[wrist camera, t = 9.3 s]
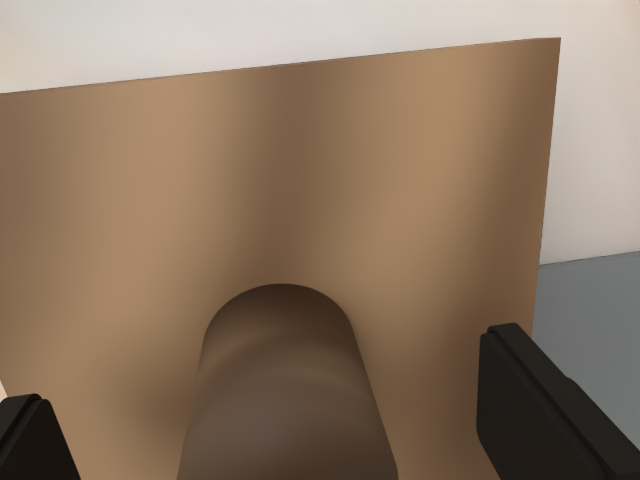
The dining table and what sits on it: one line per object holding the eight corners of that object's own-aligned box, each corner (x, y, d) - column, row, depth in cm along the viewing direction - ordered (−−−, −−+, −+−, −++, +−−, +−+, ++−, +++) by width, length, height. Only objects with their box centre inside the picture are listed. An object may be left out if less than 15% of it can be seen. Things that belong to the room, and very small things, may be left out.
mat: (853, 221, 21) (864, 224, 20) (765, 460, 26) (772, 466, 26) (449, 277, 19) (453, 282, 19) (446, 516, 25) (449, 523, 24)
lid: (536, 38, 11) (755, 32, 6) (502, 470, 17) (604, 650, 12) (-86, 102, 10) (-412, 156, 5) (94, 539, 16) (17, 768, 11)
